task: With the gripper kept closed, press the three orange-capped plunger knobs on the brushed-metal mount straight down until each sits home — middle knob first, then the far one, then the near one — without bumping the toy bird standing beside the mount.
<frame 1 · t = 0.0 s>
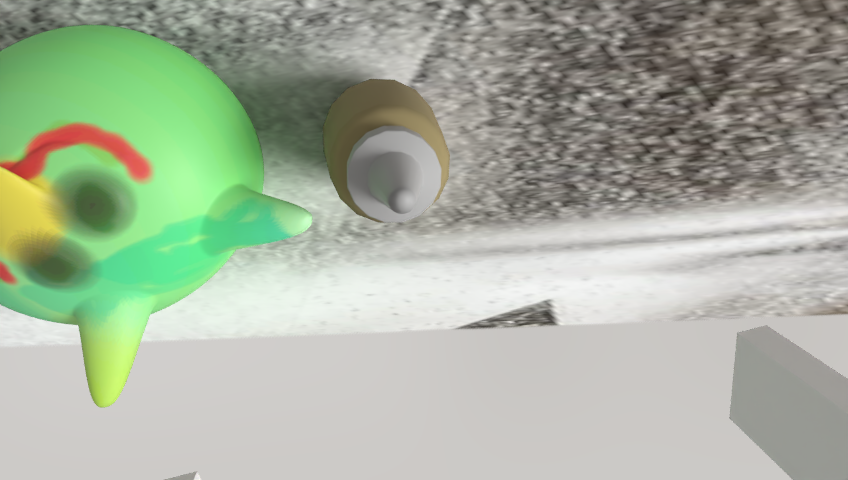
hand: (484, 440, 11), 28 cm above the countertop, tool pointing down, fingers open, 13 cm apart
squeeze bottle: (378, 131, 36), on the countertop
toy bird: (163, 164, 35), on the countertop
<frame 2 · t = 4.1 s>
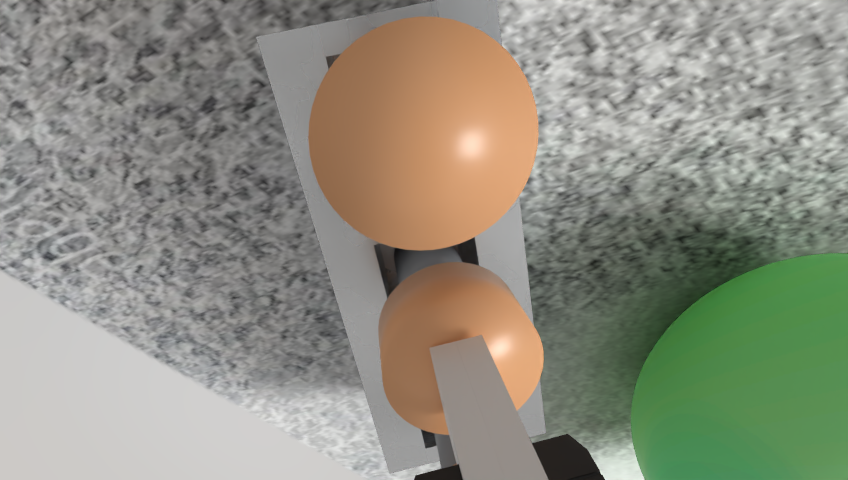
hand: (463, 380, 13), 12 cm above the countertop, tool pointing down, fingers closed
toy bird: (716, 343, 31), on the countertop
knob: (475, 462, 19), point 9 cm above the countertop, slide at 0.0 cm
knob middle: (440, 300, 18), point 8 cm above the countertop, slide at 1.3 cm, touching gripper
mount: (414, 226, 25), on the countertop
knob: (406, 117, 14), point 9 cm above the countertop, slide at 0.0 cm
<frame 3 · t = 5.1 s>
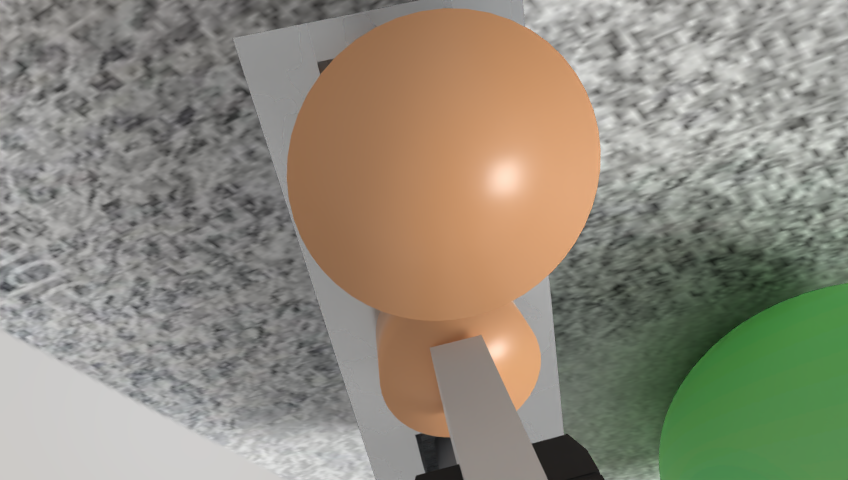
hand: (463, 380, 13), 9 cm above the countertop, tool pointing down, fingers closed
toy bird: (748, 372, 29), on the countertop
knob middle: (437, 302, 18), point 5 cm above the countertop, slide at 4.2 cm, touching gripper
mount: (419, 250, 22), on the countertop
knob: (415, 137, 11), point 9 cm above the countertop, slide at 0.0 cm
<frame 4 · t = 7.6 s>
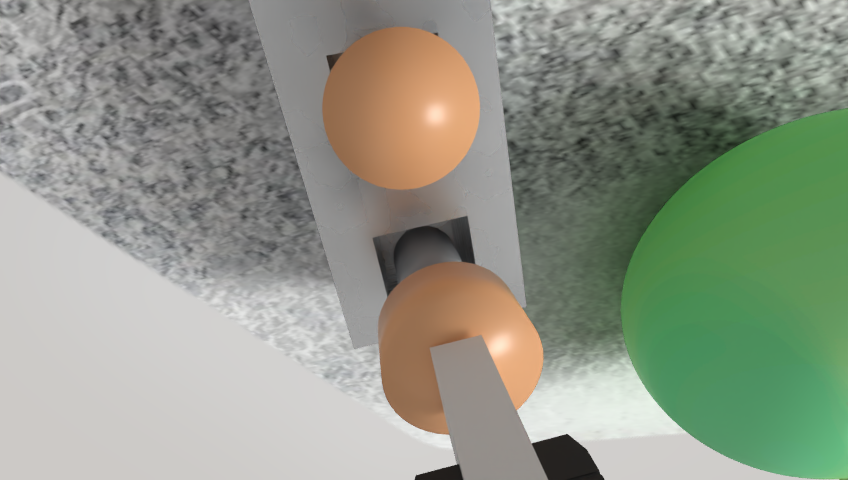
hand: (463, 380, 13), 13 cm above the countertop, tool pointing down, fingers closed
toy bird: (714, 243, 29), on the countertop
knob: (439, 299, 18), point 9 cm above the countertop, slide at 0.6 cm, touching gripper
knob middle: (392, 99, 18), point 5 cm above the countertop, slide at 4.2 cm
mount: (384, 89, 23), on the countertop
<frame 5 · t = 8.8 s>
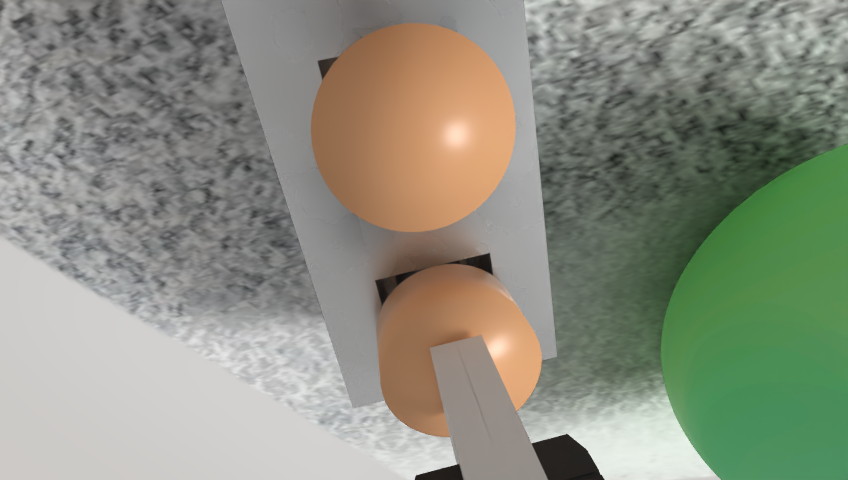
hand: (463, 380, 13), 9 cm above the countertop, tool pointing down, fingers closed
toy bird: (759, 270, 26), on the countertop
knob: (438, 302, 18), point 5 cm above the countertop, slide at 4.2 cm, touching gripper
knob middle: (399, 113, 15), point 5 cm above the countertop, slide at 4.2 cm
mount: (388, 98, 19), on the countertop
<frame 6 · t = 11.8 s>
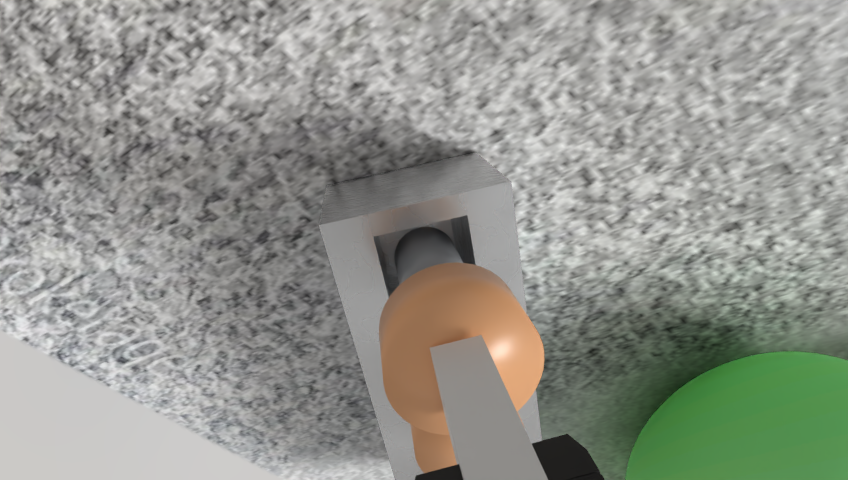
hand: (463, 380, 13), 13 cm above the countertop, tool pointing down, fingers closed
toy bird: (702, 413, 35), on the countertop
knob middle: (451, 380, 24), point 5 cm above the countertop, slide at 4.2 cm
mount: (435, 327, 28), on the countertop
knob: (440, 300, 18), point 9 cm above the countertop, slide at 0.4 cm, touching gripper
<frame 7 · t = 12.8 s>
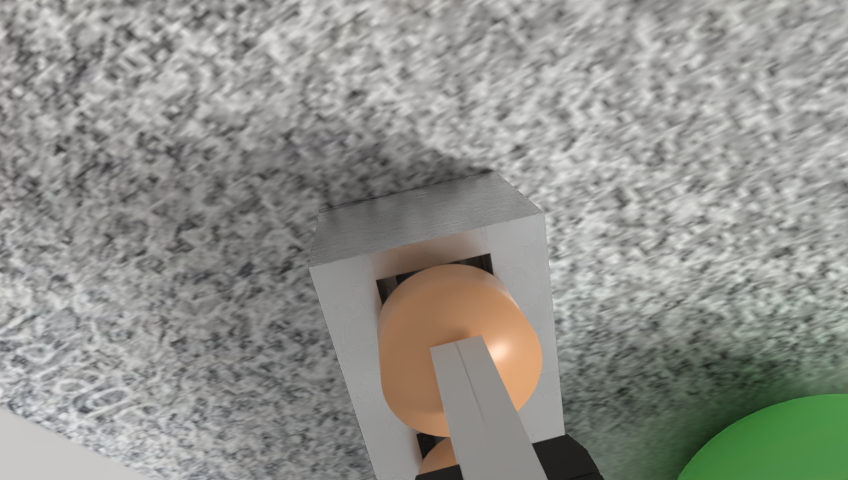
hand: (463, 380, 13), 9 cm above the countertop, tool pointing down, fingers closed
toy bird: (740, 454, 31), on the countertop
knob middle: (467, 439, 20), point 5 cm above the countertop, slide at 4.2 cm
mount: (445, 367, 25), on the countertop
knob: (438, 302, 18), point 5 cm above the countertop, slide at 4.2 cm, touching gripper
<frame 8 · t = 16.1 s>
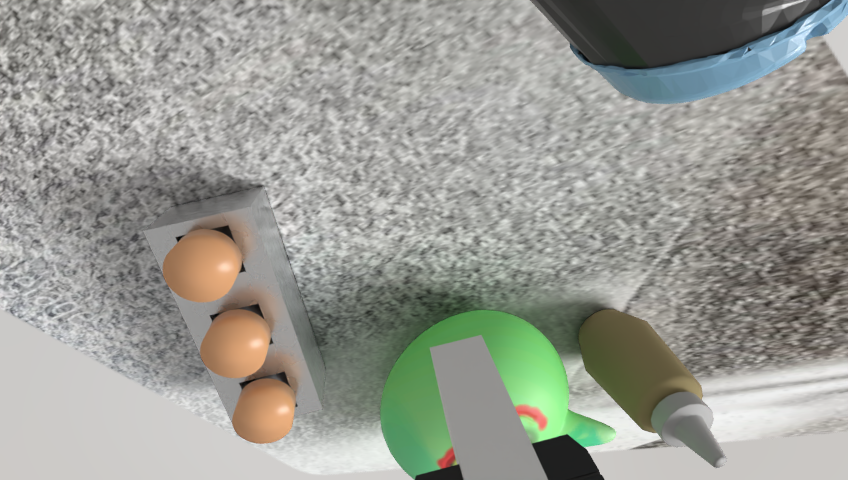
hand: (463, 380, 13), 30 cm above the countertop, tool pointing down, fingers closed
squeeze bottle: (601, 330, 52), on the countertop
toy bird: (460, 357, 51), on the countertop
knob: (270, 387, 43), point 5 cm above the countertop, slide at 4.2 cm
knob middle: (244, 323, 40), point 5 cm above the countertop, slide at 4.2 cm
mount: (255, 295, 44), on the countertop
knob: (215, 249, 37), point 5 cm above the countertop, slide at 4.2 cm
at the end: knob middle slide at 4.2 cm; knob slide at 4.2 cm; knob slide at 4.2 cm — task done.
